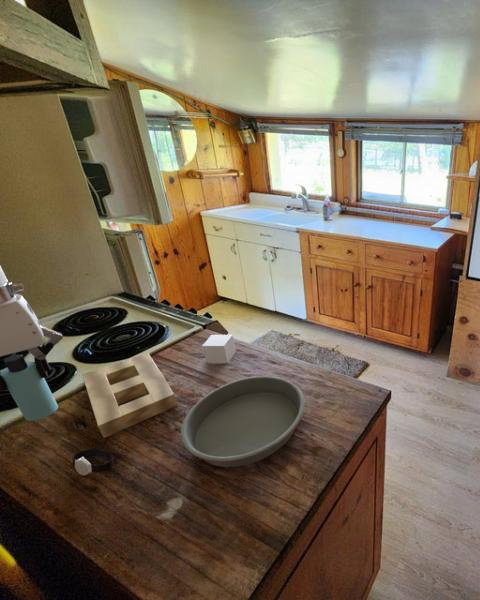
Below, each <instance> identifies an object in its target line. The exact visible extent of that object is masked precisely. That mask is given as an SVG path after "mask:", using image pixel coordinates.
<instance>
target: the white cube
mask: <svg viewBox="0 0 480 600" xmlns="http://www.w3.org/2000/svg"><path fill="white" fill-rule="evenodd" d="M201 348H202V352H203V354H204V360H205V363H206V364H229V363H230V361H231V360H232V359H233V357H234V355H235V354H236V352H237V350H236V345H235V340H234V335H233V334H211V335H210V336H209V337H208V338H207V339H206V341H205V342H204V343H203V344H202V345H201Z"/></svg>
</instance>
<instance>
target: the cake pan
mask: <svg viewBox="0 0 480 600" xmlns="http://www.w3.org/2000/svg"><path fill="white" fill-rule="evenodd" d="M305 405H306V403H305V397H304V394H303V392H302V391H301V389H300V388H299V387H298V386H297V384H295V383H293V382H291V381H289V380H287V379H285V378H281V377H278V376H270V375H269V376H268V375H260V376H251V377H244V378H240V379H237V380H235V381H230V382H228V383H225V384H223V385H222V386H219V387H217V388H215V389H214V390H212V391H211V392H209V393H207V394H206V395H205V396H203V397H201V399H199V400H198V401H197V402H196V403H195V404H194V405H193V406H192V407H191V408H190V409H189V411H188V412H187V414H186V415H185V417H184V419H183V421H182V424H181V428H180V440H181V443H182V445H183V447H184V448H185V449H186V450H187V451H188V453H190V454H191V455H193V456H195V457H197V458H199V459H202V460H203V461H204V462H206V463H207V464H210V465H212V466H215V467H221V468H238V467H242V466H243V467H244V466H247V465H251V464H253V463H256V462H257V463H258V462H259V461H261V460H263V459H266V458H268V457H269V456H271V455H273V454H274V453H276V452H277V451H278V450H280V449H281V448H283V446H284V445H285V444H286V443H287V442H288V441H289V440H290V439H291V437H292V436H293V434H294V432H295V430H296V429H297V427H298V424H299V423H300V420H301V419H302V417H303V415H304V411H305Z"/></svg>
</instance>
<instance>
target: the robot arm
mask: <svg viewBox="0 0 480 600" xmlns="http://www.w3.org/2000/svg"><path fill="white" fill-rule="evenodd" d="M20 291H21V292H22V291H25V287H24V285H23V283H22V282H20V283H19V282H18V283H14V282H13V283H12V281H11V282H10V281H9V279H8V278H7V276H6V274H5V272H4V270H3V268H2V265H0V357H4V356H8V355H12V354H13V355H14V354H16V353H20V352H24V351H27V352H28V353H30V354H31V355H32V356H33V359H34V362H35V364H36V366H37V368H38V370H39V372H40V374H41V376H42V378H44V379H46V378H48V376H49V375H48V372H49V371H51V370H52V369H51V365H50V364H49V362H48V360H47V358H46V357H47V355H49V353H50V352H51V351H52V350H53V349H54V347H55V346H56V345H57V344H58V343H60V342H61V340H62V339H63V337H64V336H63V334H62V332H58V331H56V330H53V329H51V328H49V327H46V326H44V325H42V324H41V322H40V320H39V318H38V317H37V315H36V313H35V311H34V310H33V308H32V307H31V305H30V304H29V303H28V301H27V300H26V298H25V297H24V296H23V295H22V294H20V293H19V292H20ZM45 337H46V338H48V339H47V340H46V338H45ZM1 372H2V371H1V370H0V373H1ZM7 389H8V388H7V386H6V384H5V383H4V381H3V379H2V377H1V375H0V392H4V391H6V390H7Z"/></svg>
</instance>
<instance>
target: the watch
mask: <svg viewBox="0 0 480 600" xmlns="http://www.w3.org/2000/svg"><path fill="white" fill-rule="evenodd" d="M91 457H92V458H93V457H98V458H99V457H100V458H104V459H106V460H109V461H108V462H106V463H102V464H97V465H96V464H95V465H94V464H92V463H90V461H89V460H88V459H86V458H91ZM71 458H72V464H73V466H74V468H75V470H76V472H77V473H78V474H79V475H81V476H86V475H88V474H92V473H104V472H106V471H109V470H110V469H112V467H113V466H114V464H115V461H114V455H113V453H112V452H111V451H109V450H107V449H99V448H92V449H91V448H90V449H85V450H81V451H78V452H76V453H75V454H73V455H72V457H71Z"/></svg>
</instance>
